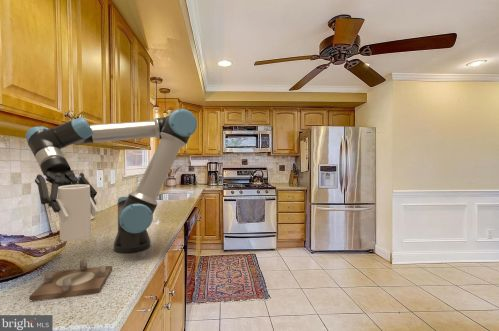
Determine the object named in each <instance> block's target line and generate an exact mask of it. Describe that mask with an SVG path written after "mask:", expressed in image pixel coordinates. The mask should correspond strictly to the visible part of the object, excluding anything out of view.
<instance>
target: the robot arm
mask: <svg viewBox="0 0 499 331" xmlns="http://www.w3.org/2000/svg"><path fill="white" fill-rule="evenodd" d="M197 128H198V121H197V118H196V116H195V115H194V114H193V113H192V112H191V111H190V110H189V109H184V108H178V109H175V110H173V111H172V112H171V113H169V115H167V116H164V117H163V116H162V117H155V118H154V119H153V120H146V121H145V120H142V121H130V122H129V121H126V122H116V123H115V122H113V123H99V124H98V123H97V124H89V122H88V121H87V119H86V118H85V117H83V116H81V117H78V118H77V117H76V118H74V119H71V120H69V121H67V122H65V123H62V124H60V125H57V126H55V127H51V128H47V127H45V126H42V125H41V126H33V127H31V128H30V129H28V130H27V131H26V132H25V133H26V134H25V139H26V142H27V146H28V147H29V148H30V150H31V152H32V154H33V156H34V159H35V160H36V162H37V164H38V166H39V167H40V170H41V172H42V174H40V173H39V174H37V175H36V176H35V179H34V183H35V184H36V185H37V187H38V188H37V189H38V194H39V199H40V200H39V201H40V205H41V204H42V205H46V204H47V206H48V207H49V208H51V209H52V211H53V212H54V213H57V215H58V218H59V217H60V219H61V221H62V222H65V221H66V220H67V218H68V214H67V212H66V210H65V208H64V206H63V204H62V203H61V201H60V199H58V198H57V197H58V187H60V186H66V185H90V205H91V217H92V218H94V217H96V215H97V214H98V212H99V209H98V207H97V202H96V200H95V197H96V196H97V194H98V191H97V190H96V189H95V188H94V187H93V186H92V184H90V182H89V181H88V180H87V179H86V177H85V174H84V173H82V172H81V173H79V174H76V173H75V172H73V171H72V168H71V166H70V164H69V162H68V161H67V159H66V157H65V155H64V153H63V151H62V149H64V148H66V147H69V146H70V145H71V146H72V145H75V146H76V145H77V146H81V145H82V146H83V145H85V144H93V143H94V144H96V143H105V142H116V141H117V142H118V141H125V140H126V141H127V140H128V141H129V140H138V139H149V138H150V139H151V138H156V139H157V140H160V141H159V143H158V145H157V147H156V150H155V151H154V153H153V155H152V157H151V159H150V161H149V163H148V165H147V167H146V169H145V170H144V173H143V175H142V177H141V180H140V181H139V183H138V185H137V187H136V189H135V190H134V191H131V192H129V194H128V196H120V197H118V198H117V202H116V203H117V233H116V237H115V240H114V242H113V251H114V252H115V253H120V254H123V253H124V254H127V253H128V254H130V253H131V254H132V253H137V252H141V251H143V250H144V251H145V250H147V249H148V248H150V247H151V238H150V236H149V233H148V230H147V229H149V227H150V226H151V224H152V222H153V217H154V212H155V210H156V209H157V207H158V202H157V197H158V196H159V193H160V192H161V190H162V187H163V185H164V184H165V181H166V178H167V177H168V175H169V173H170V171H171V169H172V166H173V164H174V162H175V160H176V158H177V156H178V154H179V152H180V150H181V148H183V147H186V146H187V144H188V142H189V139H190V137H191V136H192V135H193V134H194V133H195V132H196V130H197ZM46 182H48V183H49V184H51V186H50V187H51V188H50V196H49V191H48V187H47V183H46Z"/></svg>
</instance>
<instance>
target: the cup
mask: <svg viewBox="0 0 499 331" xmlns="http://www.w3.org/2000/svg"><path fill="white" fill-rule="evenodd" d="M90 185H91V184H90ZM90 185H66V186H60V187H58V193H57V197H58V198H57V200H58V199H60V201H61V203H62V204H63V206H64V208H65V210H66V212H67V214H68V218H67V220H66V221H65V222H62V221H61V219H60V217H59V216H58V218H59V219H58V221H59V222H58V223H59V240H60V241H63V242H75V241H80V240H85V239H87V238H89V237H91V236H92V214H91V205H90Z"/></svg>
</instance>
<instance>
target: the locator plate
mask: <svg viewBox="0 0 499 331" xmlns="http://www.w3.org/2000/svg"><path fill="white" fill-rule="evenodd" d="M112 271H113V266H112V265H100V266H95V267H88V261H87V259H84V260H83V259H82V260H80V261H79V268H76V269H67V270H58V271H54V273H53V271H52V270H47V271H45V272H44V274H43V277H44V280H43V281H44V282H43V283H42V284H41V285H40V286H39V287H37V288H36V289H35V290H34V291H33V292H32V293H31V294H30V295H29V298H28V299H29V301H30V300H40V301H43V300H42V299H48V300H53V299H52V298H55V299H61V297H63V298H69V297H77V296H79V297H80V296H85V295H86V296H87V295H95V294H99V293H101V291H102V289H103V286H104V285H105V283H106V282H107V279H108V278H109V276H110V274H111V273H112ZM110 272H111V273H110ZM50 298H51V299H50Z"/></svg>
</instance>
